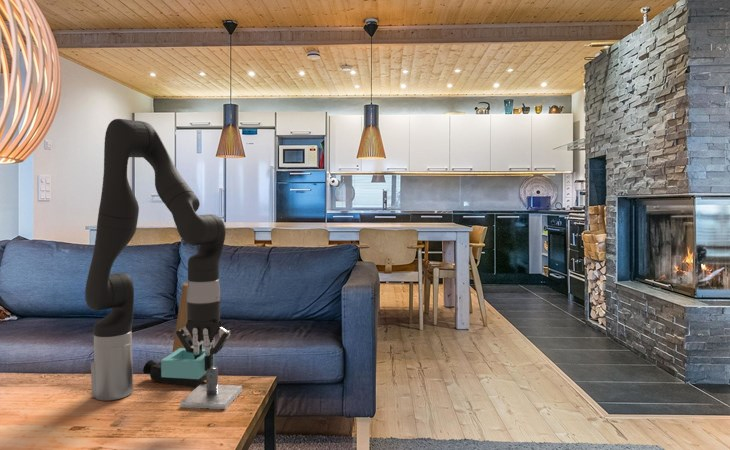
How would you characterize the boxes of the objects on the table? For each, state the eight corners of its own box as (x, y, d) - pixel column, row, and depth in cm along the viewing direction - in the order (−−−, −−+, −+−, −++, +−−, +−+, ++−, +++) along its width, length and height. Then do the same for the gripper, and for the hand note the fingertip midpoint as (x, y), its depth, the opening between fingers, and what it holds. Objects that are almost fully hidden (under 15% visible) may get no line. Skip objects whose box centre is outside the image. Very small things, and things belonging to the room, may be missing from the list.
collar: (161, 377, 112) (161, 360, 112) (179, 363, 121) (179, 348, 121) (198, 379, 111) (198, 362, 111) (214, 365, 120) (214, 349, 120)
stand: (180, 407, 124) (179, 375, 124) (200, 389, 136) (200, 359, 136) (225, 409, 123) (224, 377, 123) (241, 391, 135) (241, 361, 134)
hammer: (211, 389, 142) (227, 290, 139) (201, 395, 137) (217, 294, 134) (153, 370, 146) (167, 275, 143) (141, 376, 142) (156, 277, 139)
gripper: (168, 300, 112) (169, 374, 113) (225, 303, 110) (225, 377, 111) (183, 294, 119) (184, 362, 120) (237, 296, 118) (237, 365, 119)
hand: (204, 369), depth 116 cm, fingers closed on collar, 1 cm apart
